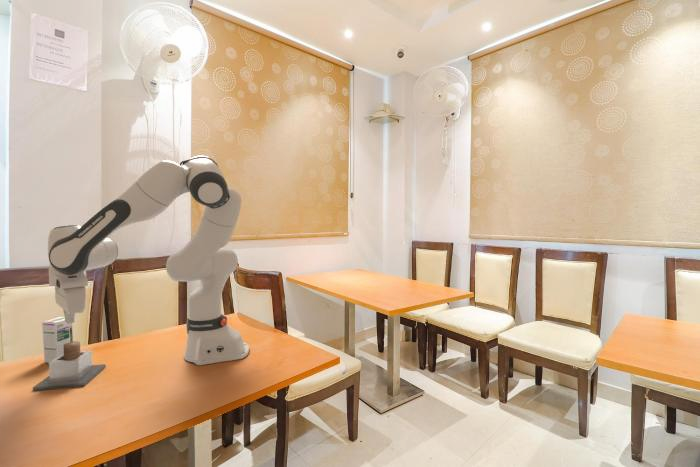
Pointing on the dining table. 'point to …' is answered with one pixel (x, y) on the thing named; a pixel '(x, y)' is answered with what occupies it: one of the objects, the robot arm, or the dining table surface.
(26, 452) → the dining table surface
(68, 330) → the syrup box
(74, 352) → the walnut peg
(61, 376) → the square collar
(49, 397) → the dining table surface
